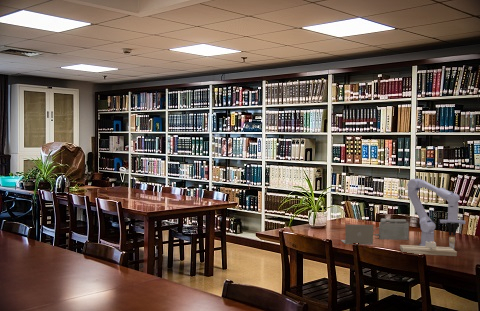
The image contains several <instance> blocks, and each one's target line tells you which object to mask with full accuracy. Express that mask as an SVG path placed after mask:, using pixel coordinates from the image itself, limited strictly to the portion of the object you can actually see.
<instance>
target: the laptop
mask: <svg viewBox="0 0 480 311" xmlns="http://www.w3.org/2000/svg"><path fill="white" fill-rule="evenodd" d="M373 230H374V224H345V232H344V233H345V236H344V237H345V239H340V241H341V242H342V243H343V244H344V245H354V244H353V243H359V244H358V245H373V244H374V235H373V234H374V231H373Z"/></svg>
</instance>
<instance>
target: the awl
mask: <svg viewBox="0 0 480 311" xmlns="http://www.w3.org/2000/svg"><path fill="white" fill-rule="evenodd" d="M448 244H449V245H448V247H451V248H452V249H454V250H455V244H456V237H455V236H449V237H448Z"/></svg>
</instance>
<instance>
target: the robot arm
mask: <svg viewBox="0 0 480 311" xmlns="http://www.w3.org/2000/svg"><path fill="white" fill-rule="evenodd" d="M406 186H407V196H408V198H409V199H410V202H411V204H412V206H413V208H414V210H415V213H416V214H417V216H418V218H419V225H420V230H421V235H420V243H419V246H426V241H434V242H435V229H436V227H437V226H436V224H435V222H434V221H433V220H432V219H431V217H429V215H428V213H427V212H426V210H425V207H424V206H423V204H422V201H421V198H419V195H418V193H419V191H420V189H422V188H424V189H426V190H429V191H432V192H433V193H436V196H437V197H439V198H441V199H444V200H445V201H447V219H439V223H440V224H445V225H446V228H447V231H448V235H449V236H456V234H457V231H458V229H459V227H460V225H466V220H465V219H464V220H462V219H459V202H460V199H461V198H460V195H459V194H457V193H456V192H453V191H450V190H447V189H446V187H437V186H435V185H433V183H429V182H428V181H427V180H425V179H422V178H419V177H418V178H412V179H409V180H408V183H407V185H406ZM452 227H453V228H452Z"/></svg>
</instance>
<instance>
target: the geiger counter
mask: <svg viewBox="0 0 480 311" xmlns="http://www.w3.org/2000/svg"><path fill="white" fill-rule="evenodd" d="M378 225H379V226H378V227H376V228H373V232H375V230H377V229H378V233H373V236H376V237H378V239H379V240H399V241H400V240H402V241H403V240H405V241H406V240H407V241H408V240H409V239H410V238H409V236H410V235H409V232H410V223H409V222H408V220H407V219H404V218H401V219H399V218H395V219H393V218H380V222H379V224H378Z"/></svg>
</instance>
